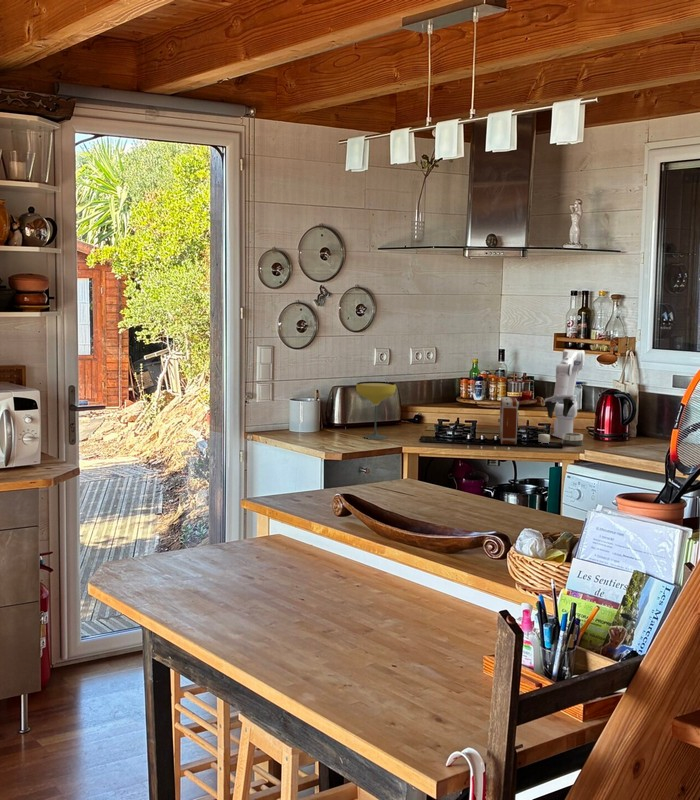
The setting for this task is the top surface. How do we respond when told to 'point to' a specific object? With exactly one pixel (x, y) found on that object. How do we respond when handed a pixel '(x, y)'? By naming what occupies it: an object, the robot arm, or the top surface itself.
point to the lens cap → (544, 438)
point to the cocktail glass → (375, 397)
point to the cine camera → (508, 420)
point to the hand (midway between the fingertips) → (557, 416)
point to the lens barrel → (572, 439)
